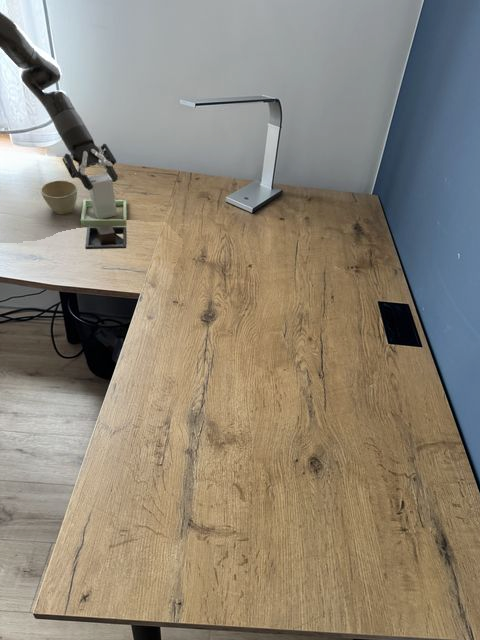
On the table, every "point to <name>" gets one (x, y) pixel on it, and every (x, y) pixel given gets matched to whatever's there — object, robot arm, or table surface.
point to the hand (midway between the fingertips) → (103, 184)
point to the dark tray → (94, 244)
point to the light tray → (90, 222)
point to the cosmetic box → (102, 196)
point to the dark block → (106, 235)
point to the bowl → (60, 196)
